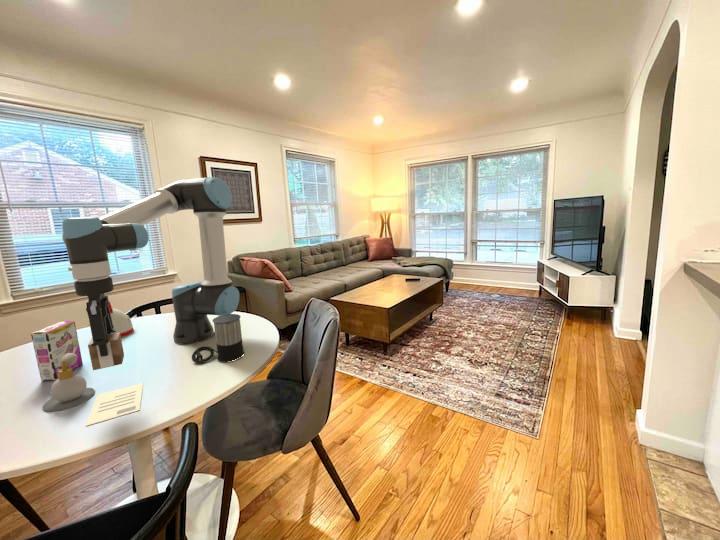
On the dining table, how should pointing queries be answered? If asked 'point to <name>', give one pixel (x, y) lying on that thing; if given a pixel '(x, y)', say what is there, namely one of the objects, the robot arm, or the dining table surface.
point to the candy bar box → (55, 348)
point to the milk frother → (224, 340)
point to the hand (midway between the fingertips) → (109, 361)
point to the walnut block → (115, 348)
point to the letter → (116, 404)
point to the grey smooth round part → (67, 402)
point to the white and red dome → (121, 322)
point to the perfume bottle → (68, 381)
